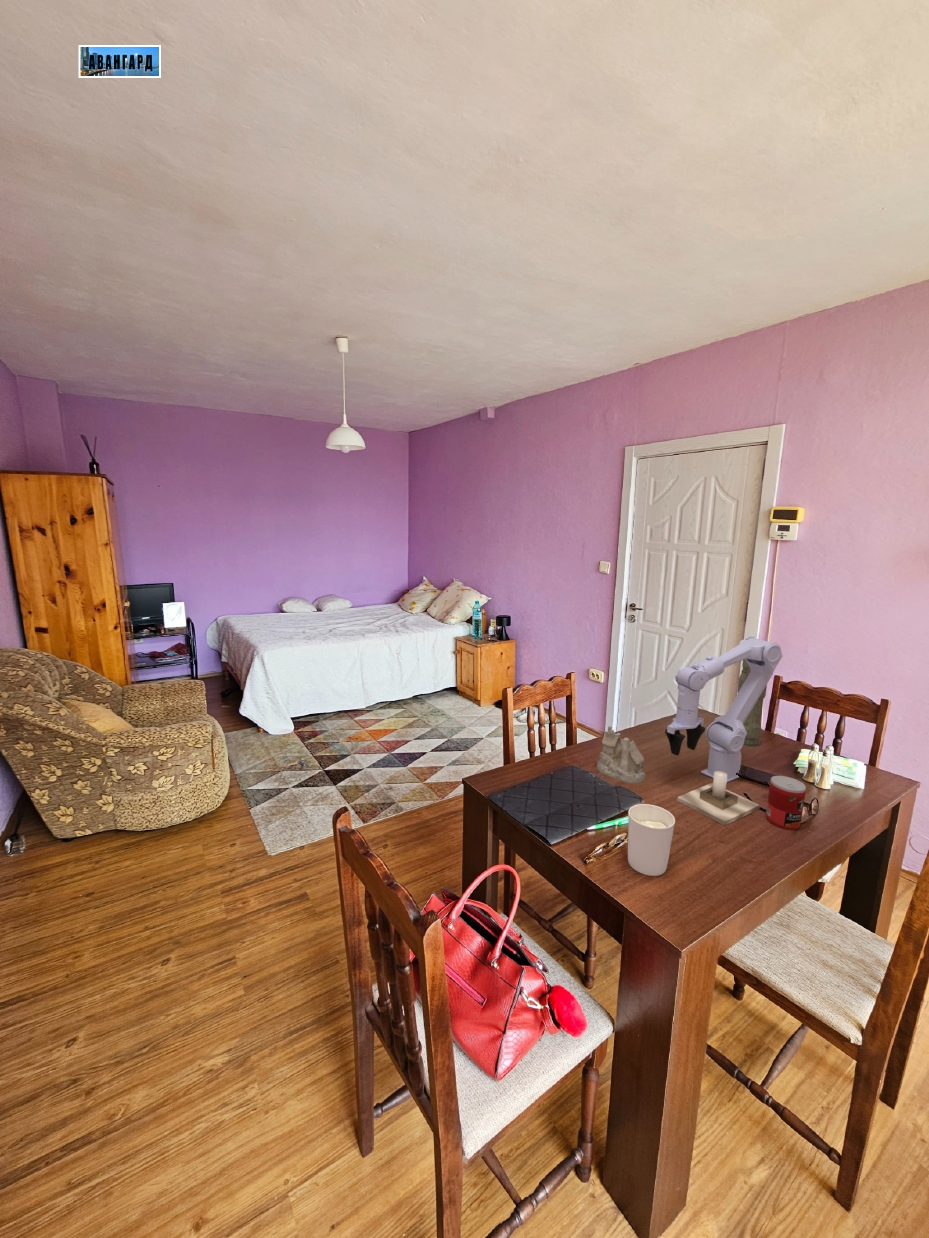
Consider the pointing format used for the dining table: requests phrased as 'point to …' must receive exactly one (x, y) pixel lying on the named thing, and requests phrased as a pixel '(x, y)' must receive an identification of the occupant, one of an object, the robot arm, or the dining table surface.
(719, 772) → the ivory candle
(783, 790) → the canned food
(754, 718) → the green stone statue
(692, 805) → the candle stand
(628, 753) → the ceramic cottage
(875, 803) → the dining table surface
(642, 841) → the candle holder
